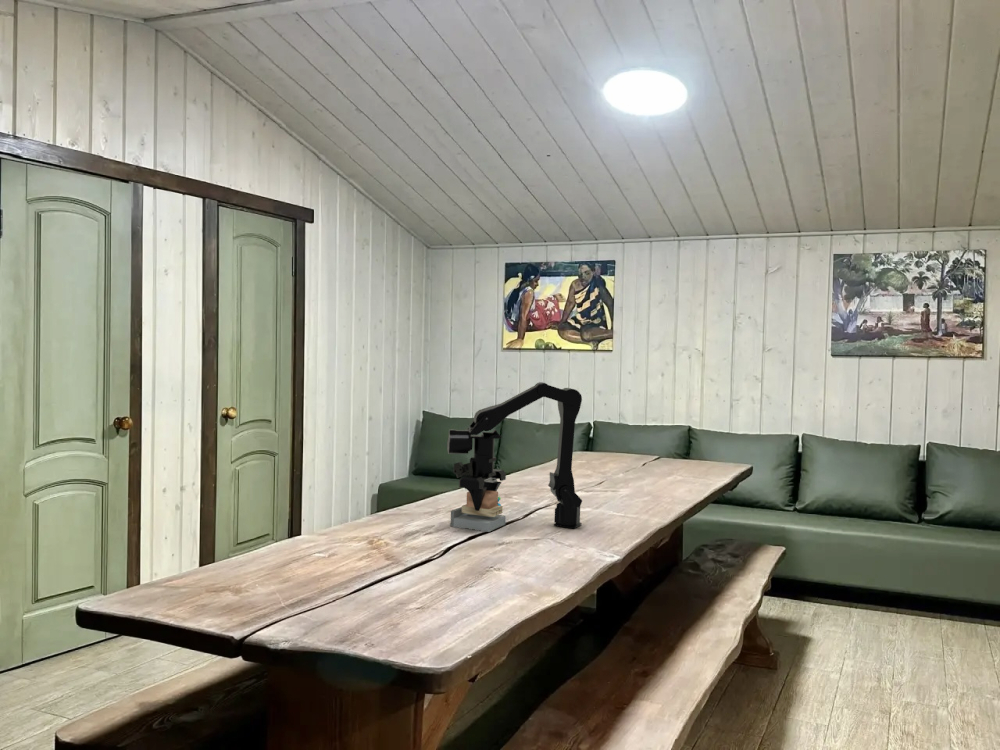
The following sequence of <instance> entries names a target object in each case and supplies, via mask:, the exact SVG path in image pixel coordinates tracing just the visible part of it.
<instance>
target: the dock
mask: <svg viewBox="0 0 1000 750" xmlns="http://www.w3.org/2000/svg"><path fill="white" fill-rule="evenodd" d="M506 517H507V516H506V515H505V514H504V515H502V514H499V515H496V516H495V517H489V516H481V515H474V514H466V513H462V506H460V507H458V508H455V509H452V510H450V525H449V526H450V527H451V526H452V527H451V528H458V527H459V528H460V529H465V528H469V529H468V530H472V529H475V530H474V531H479V530H481V532H486V533H487V532H488V533H490V532H491V531H494V530H496V529H498V528H501V527H503V526H505V525H506ZM459 528H458V529H459Z"/></svg>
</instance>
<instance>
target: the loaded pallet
mask: <svg viewBox="0 0 1000 750" xmlns="http://www.w3.org/2000/svg"><path fill="white" fill-rule="evenodd" d="M498 497H499V492H498V490H497V491H488V490H486V492H485V495H484V498H483V501H482V504H481V507H480V510H479V511H476V510H475V507H474V504H473V500H472V497H471V494H470V492H469V491H467V492H466V503H465V504H463V505H461V507H462V513H466V514H474V515H481V516H489V517H495V516H496V515H502V514H503V506H504V505H503V506H502V505H501V506H498V503H499V502H498Z"/></svg>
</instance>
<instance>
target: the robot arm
mask: <svg viewBox="0 0 1000 750" xmlns="http://www.w3.org/2000/svg"><path fill="white" fill-rule="evenodd" d="M542 398H547V399H549V400H554V401H557V410H558V413H559V418H560V420H559V430H558V431H559V434H558V435H559V436H558V444H557V445H558V447H557V460H556V467H555V470H554V472H549V481H548V482H549V483H548V484H547V485H548V487H549V488H550V492H551V494H552V495H553V496H554V497H556V500H557V502H558V503H556V508H554V517H553V518H554V520H553V521H554V523H553V526H555V527H558V528H559V527H562V528H568V529H576V528H578V527H580V526H582V524H583V523H582V522H581V506H582V504H583V503H582V502H583V500H582V498H581V497H580V496H579V495H578V494H577V493H576V492H575V491H576V490H575V489H576V487H575V481H574V475H573V470H572V469H573V468H572V466H573V465H572V464H573V454H574V453H573V452H574V440H575V439H574V438H575V428H576V427H575V426H576V420H577V417H578V416H579V413H580V408H581V406H582V405H581V404H582V401H583V397H582V394H581V393H580V392H579V391H578V390H577V389H575V388H571V387H570V388H569V387H564V388H559V387H555V386H554V385H553V386H552V385H549V384H548V383H546V382H540V381H539V382H537V383H535V384H534V385H533V386H531V387H529V388H527V389H525V390H523V391H522V392H520V393H518V394H516V395H514V396H512V397H511V398H509V399H506V400H504V401H503V402H501V403H498V404H494V405H490V406H486V407H484V408H482V409H481V408H480V409H479V410H477V411H476V412H475V414H474V415H473V421H472V422H471V423H470V425H469V426H468V427H467V429H464V430H463V429H462V430H461V429H453V428H451V429H450V428H449V429H448V438H447V444H446V445H447V447H446V448H447V454H448V455H449V454H451V455H452V454H456V455H457V454H458V455H465V454H467V455H468V454H469V452H471V451H472V450H473V457H472V456H471V457H470V458H469V462H468V463H464V464H463V462H462V461H459V462H455V463H453V467H452V473H453V474H454V475H456V478H457V479H458V478H460V479H459V480H458V487H459V488H464V489H465V490H467V492H470V494H471V497H472V500H473V504H474V507H475V510H476V511H479V510H480V507H481V504H482V501H483V498H484V495H485V492H486V490H488V491H497V492H498V489H499V487H500V486H501V484H502V482H503V481H505V480H506V479H507V478H506V476H507V473H506V472H505V470H503V469H498V468H494V462H497V457H495V439H497V440H498V439H499V440H500V439H502V436H501V434H499V432H498V430H496V429H494V428H496V427H497V426H498V425H499V424H501V423H502V422H503V421H504V420H505V419H506V418H507V417H508V416H510V415H512V414H514V413H516V412H517V411H519V410H521V409H524V408H525V407H526V406H529V405H532V404H533V403H535V402H536V401H538V400H540V399H542ZM498 480H499V481H498Z"/></svg>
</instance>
